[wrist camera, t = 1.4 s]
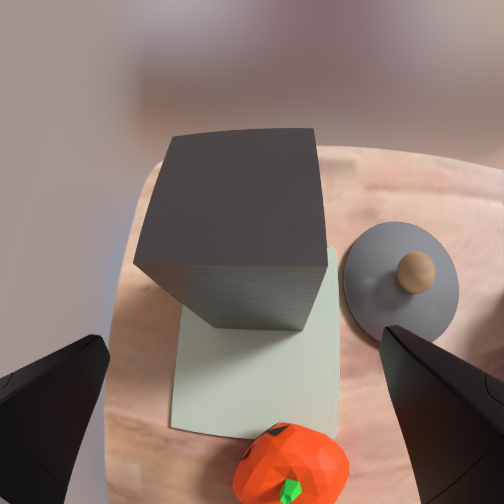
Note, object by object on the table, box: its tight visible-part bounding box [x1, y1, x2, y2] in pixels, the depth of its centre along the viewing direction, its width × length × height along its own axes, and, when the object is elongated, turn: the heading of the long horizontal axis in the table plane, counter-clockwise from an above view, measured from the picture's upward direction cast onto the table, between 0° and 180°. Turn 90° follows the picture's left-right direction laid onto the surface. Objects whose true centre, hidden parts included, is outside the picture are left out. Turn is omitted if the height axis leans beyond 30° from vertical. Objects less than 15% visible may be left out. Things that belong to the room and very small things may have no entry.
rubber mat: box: [171, 247, 340, 440], centre depth 19 cm, size 15×12×1 cm
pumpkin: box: [232, 422, 349, 504], centre depth 12 cm, size 7×8×6 cm
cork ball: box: [396, 252, 435, 294], centre depth 18 cm, size 3×3×3 cm
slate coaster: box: [343, 222, 459, 343], centre depth 19 cm, size 11×11×1 cm
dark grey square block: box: [133, 128, 328, 331], centre depth 15 cm, size 6×6×12 cm
